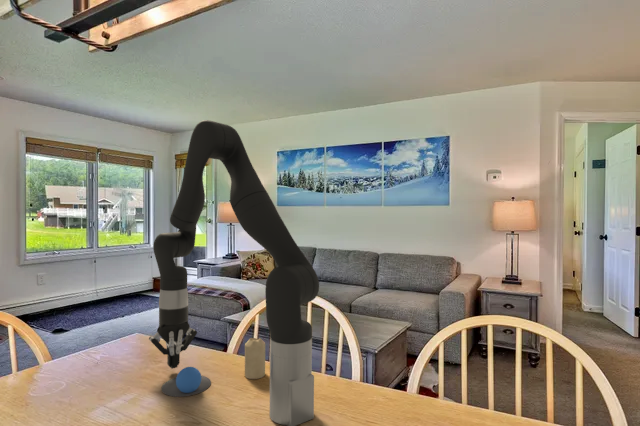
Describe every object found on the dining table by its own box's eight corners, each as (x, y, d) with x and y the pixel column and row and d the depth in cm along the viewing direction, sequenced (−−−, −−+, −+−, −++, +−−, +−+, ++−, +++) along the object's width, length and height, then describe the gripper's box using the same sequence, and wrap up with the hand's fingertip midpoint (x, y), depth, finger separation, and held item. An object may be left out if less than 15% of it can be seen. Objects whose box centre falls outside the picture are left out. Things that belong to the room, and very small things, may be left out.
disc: (218, 387, 100) (218, 386, 100) (170, 401, 93) (170, 400, 93) (200, 371, 110) (200, 371, 110) (155, 383, 102) (155, 382, 102)
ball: (206, 379, 96) (200, 359, 101) (181, 383, 93) (176, 363, 97) (201, 395, 99) (195, 376, 103) (176, 400, 95) (171, 380, 100)
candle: (267, 371, 111) (267, 335, 110) (262, 379, 105) (262, 342, 105) (247, 370, 111) (248, 335, 111) (242, 378, 106) (242, 341, 105)
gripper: (152, 311, 102) (152, 378, 102) (202, 303, 110) (202, 365, 110) (144, 305, 108) (144, 368, 108) (192, 298, 116) (192, 357, 116)
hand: (173, 367), depth 109 cm, fingers closed
